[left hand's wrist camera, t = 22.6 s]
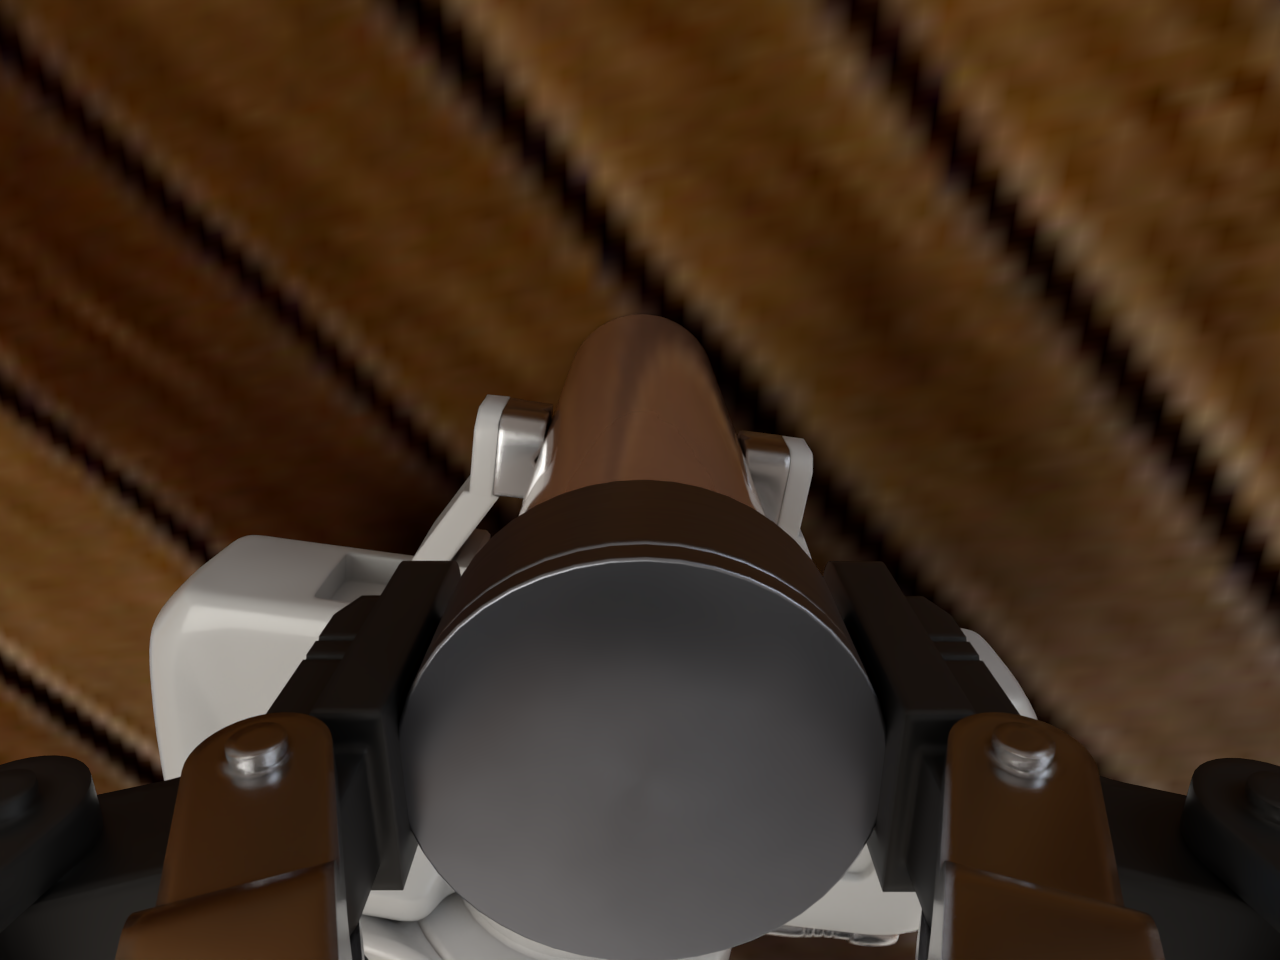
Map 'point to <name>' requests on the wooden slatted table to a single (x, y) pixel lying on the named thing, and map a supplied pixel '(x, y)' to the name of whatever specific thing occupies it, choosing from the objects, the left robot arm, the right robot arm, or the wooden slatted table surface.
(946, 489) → the wooden slatted table surface
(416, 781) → the lid
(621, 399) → the brown cylinder
